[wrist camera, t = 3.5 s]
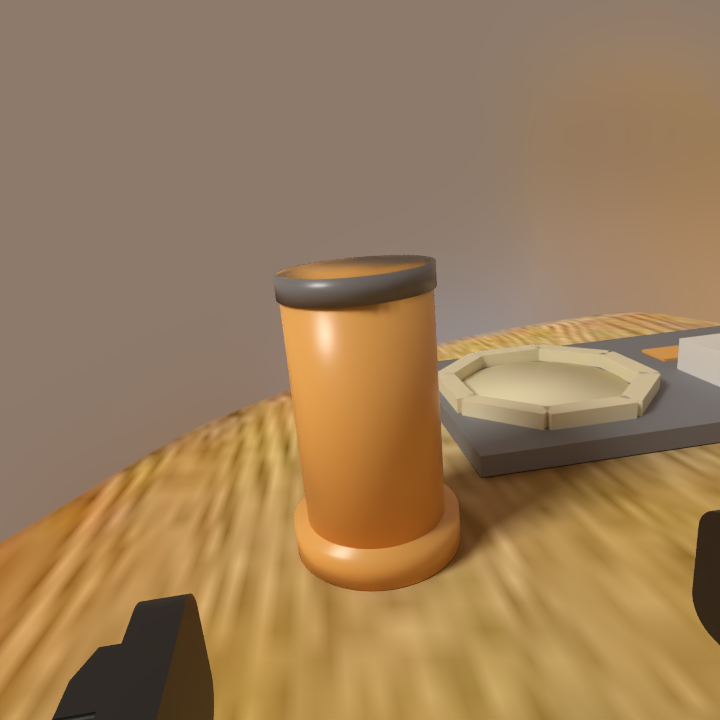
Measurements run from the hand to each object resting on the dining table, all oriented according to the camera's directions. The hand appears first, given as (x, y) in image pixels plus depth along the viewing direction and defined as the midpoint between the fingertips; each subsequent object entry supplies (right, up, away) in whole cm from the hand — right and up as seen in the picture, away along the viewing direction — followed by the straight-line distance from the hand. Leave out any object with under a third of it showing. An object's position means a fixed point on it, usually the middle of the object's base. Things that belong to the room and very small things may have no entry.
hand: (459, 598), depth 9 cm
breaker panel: (+15, +2, +23) cm, 28 cm away
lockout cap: (-1, -3, +12) cm, 12 cm away
